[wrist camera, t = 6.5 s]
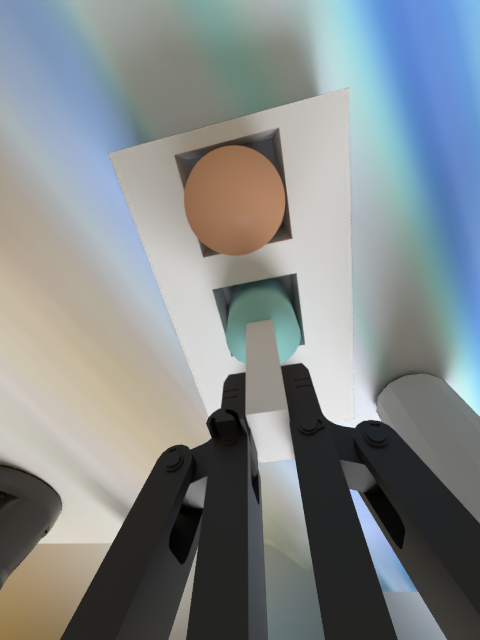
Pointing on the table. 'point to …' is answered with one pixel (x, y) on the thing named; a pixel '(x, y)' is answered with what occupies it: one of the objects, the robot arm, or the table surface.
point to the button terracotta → (234, 200)
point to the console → (267, 262)
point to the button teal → (262, 317)
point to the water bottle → (437, 431)
